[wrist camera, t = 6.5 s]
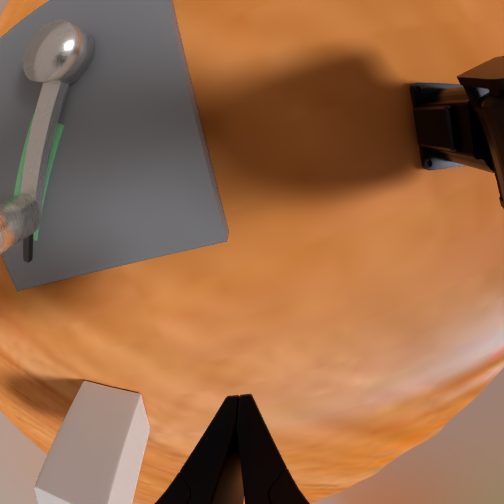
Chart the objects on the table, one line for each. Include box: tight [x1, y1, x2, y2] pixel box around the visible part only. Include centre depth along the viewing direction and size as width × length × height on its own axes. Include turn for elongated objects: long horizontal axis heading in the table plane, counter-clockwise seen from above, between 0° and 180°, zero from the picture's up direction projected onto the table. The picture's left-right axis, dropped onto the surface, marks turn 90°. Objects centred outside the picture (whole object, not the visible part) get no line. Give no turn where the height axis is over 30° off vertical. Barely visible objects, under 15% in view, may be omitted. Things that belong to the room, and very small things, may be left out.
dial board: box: [0, 0, 229, 291], centre depth 16 cm, size 20×22×2 cm
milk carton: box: [34, 381, 150, 504], centre depth 19 cm, size 7×7×19 cm
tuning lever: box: [0, 20, 95, 263], centre depth 12 cm, size 17×4×7 cm, turn 159°
